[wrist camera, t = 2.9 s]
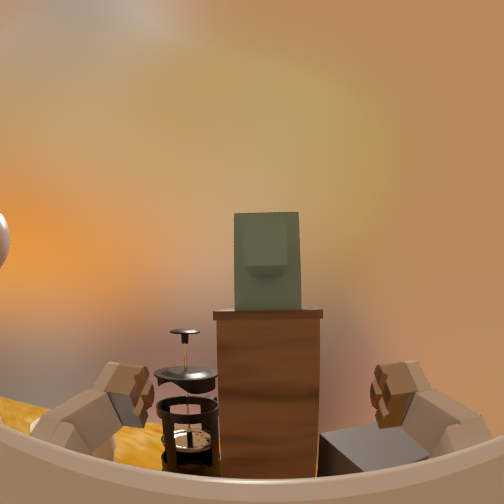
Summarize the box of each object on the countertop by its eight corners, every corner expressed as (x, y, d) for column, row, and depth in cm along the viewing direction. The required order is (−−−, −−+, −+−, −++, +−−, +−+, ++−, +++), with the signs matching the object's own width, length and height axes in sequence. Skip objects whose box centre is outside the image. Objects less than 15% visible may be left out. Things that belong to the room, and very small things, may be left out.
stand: (312, 536, 24) (322, 309, 28) (223, 536, 24) (213, 311, 28) (306, 498, 32) (311, 307, 36) (232, 498, 33) (226, 308, 37)
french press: (197, 497, 33) (187, 334, 36) (146, 476, 37) (133, 328, 40) (240, 464, 43) (237, 327, 46) (192, 452, 47) (186, 324, 51)
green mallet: (313, 313, 20) (308, 176, 21) (218, 315, 20) (218, 178, 21) (295, 307, 36) (293, 229, 38) (242, 308, 37) (241, 230, 38)
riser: (352, 563, 18) (370, 476, 20) (313, 512, 29) (319, 433, 30) (438, 526, 20) (462, 439, 22) (389, 490, 31) (401, 414, 33)
